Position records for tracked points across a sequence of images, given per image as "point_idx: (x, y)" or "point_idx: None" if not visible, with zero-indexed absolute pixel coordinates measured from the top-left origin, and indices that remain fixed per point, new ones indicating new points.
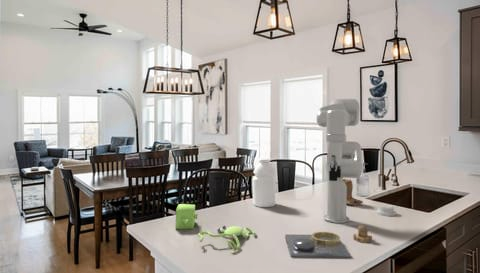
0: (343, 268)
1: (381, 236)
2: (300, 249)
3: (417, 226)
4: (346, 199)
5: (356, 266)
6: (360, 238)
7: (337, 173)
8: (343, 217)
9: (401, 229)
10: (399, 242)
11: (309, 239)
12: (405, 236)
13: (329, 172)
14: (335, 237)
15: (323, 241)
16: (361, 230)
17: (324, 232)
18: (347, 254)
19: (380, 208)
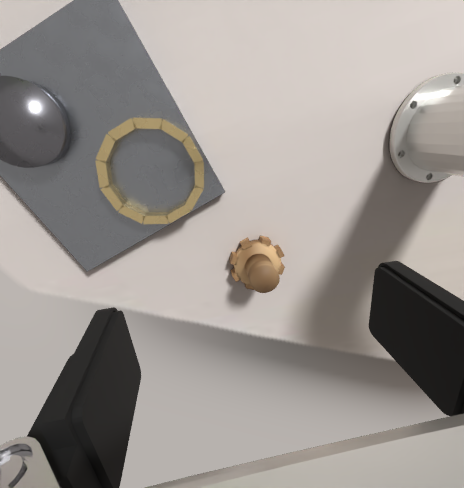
0: (5, 271)
1: (306, 295)
2: None
3: None
4: None
5: (45, 293)
6: (234, 264)
7: (402, 336)
8: (423, 166)
9: None
10: (278, 336)
11: (59, 134)
12: (330, 339)
13: (52, 398)
14: (185, 201)
15: (99, 183)
16: (248, 275)
17: (192, 158)
18: (83, 264)
19: None
